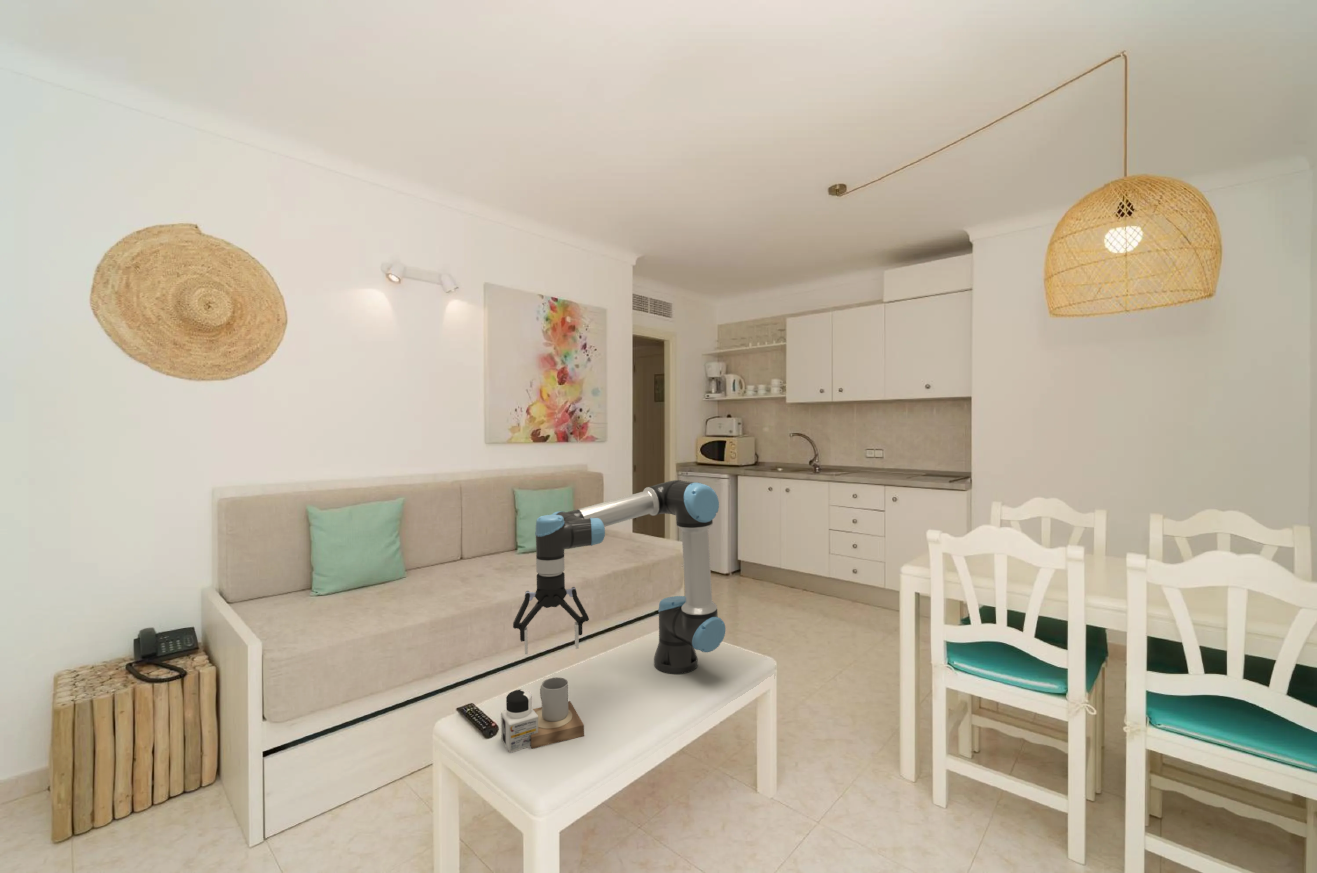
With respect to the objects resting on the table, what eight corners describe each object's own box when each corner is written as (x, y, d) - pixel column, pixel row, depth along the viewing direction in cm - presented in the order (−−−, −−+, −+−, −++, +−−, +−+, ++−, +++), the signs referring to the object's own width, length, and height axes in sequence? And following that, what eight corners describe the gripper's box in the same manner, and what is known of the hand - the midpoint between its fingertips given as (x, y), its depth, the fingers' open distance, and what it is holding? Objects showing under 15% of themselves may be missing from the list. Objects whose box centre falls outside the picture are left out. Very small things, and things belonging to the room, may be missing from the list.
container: (509, 753, 142) (509, 703, 141) (500, 739, 148) (500, 691, 148) (538, 744, 146) (538, 695, 145) (528, 730, 152) (528, 683, 152)
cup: (552, 725, 148) (552, 692, 148) (530, 712, 155) (530, 680, 155) (573, 714, 154) (573, 683, 153) (551, 702, 160) (551, 671, 160)
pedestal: (570, 711, 162) (570, 699, 162) (584, 735, 149) (583, 723, 149) (521, 722, 156) (521, 710, 156) (531, 748, 143) (531, 736, 143)
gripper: (594, 565, 158) (595, 639, 159) (503, 572, 152) (504, 649, 153) (598, 572, 151) (599, 649, 152) (502, 580, 145) (504, 660, 145)
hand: (551, 649), depth 152 cm, fingers open, 13 cm apart
